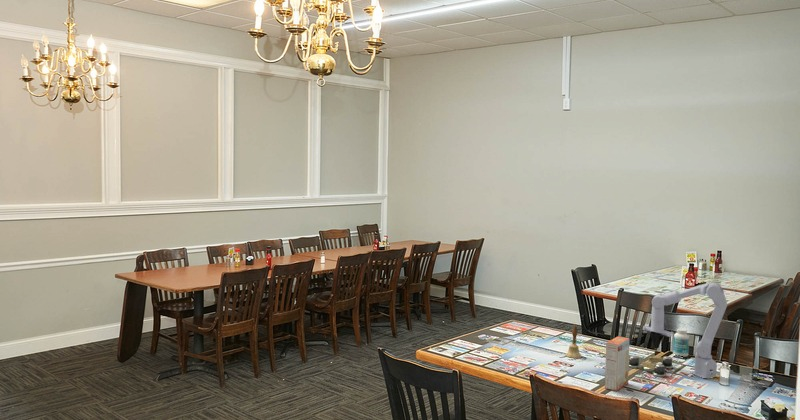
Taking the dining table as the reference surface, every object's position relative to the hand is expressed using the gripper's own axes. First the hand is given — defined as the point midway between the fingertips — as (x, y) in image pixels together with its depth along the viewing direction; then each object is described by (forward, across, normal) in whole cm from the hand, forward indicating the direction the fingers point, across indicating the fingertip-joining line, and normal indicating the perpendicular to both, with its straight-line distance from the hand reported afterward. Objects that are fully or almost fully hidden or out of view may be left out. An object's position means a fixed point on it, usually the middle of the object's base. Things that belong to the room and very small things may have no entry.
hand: (656, 347), depth 312 cm
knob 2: (+9, 0, -4) cm, 9 cm away
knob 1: (+9, +9, +10) cm, 16 cm away
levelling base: (+10, -3, +3) cm, 11 cm away
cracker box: (+10, -8, +39) cm, 41 cm away
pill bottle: (+10, +7, -31) cm, 33 cm away
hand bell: (+10, +34, +20) cm, 41 cm away
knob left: (+9, -5, +9) cm, 13 cm away
